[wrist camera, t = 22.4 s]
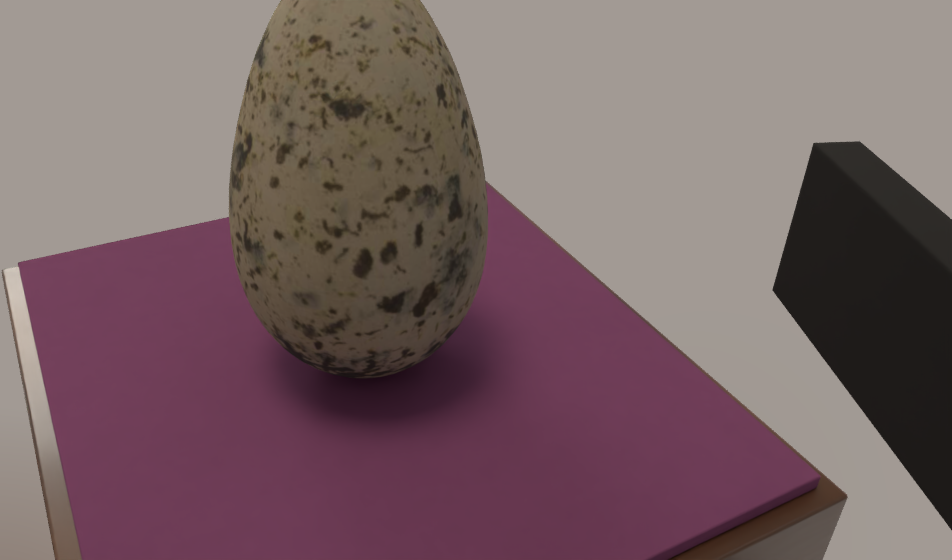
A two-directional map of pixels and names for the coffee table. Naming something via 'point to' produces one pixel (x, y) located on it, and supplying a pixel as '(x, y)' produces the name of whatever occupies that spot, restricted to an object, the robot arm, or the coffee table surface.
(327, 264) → the decorative egg
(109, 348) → the cloth
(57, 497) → the plinth
